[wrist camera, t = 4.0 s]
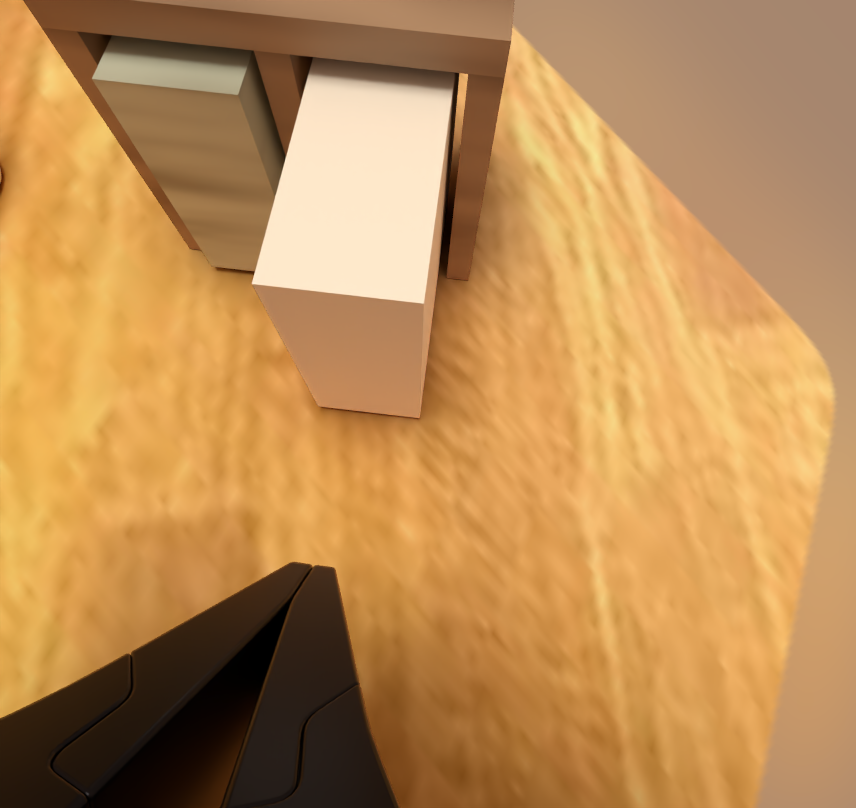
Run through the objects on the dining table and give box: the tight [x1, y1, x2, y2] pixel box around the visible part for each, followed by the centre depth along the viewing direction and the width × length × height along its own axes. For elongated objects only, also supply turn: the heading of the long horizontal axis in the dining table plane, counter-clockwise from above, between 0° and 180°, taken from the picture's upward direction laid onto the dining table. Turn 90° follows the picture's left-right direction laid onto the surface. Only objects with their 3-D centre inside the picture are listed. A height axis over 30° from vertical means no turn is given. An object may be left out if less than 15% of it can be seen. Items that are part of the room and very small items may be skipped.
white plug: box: [252, 57, 459, 418], centre depth 18 cm, size 12×4×9 cm, turn 173°
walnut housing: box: [23, 0, 514, 280], centre depth 19 cm, size 9×13×11 cm
